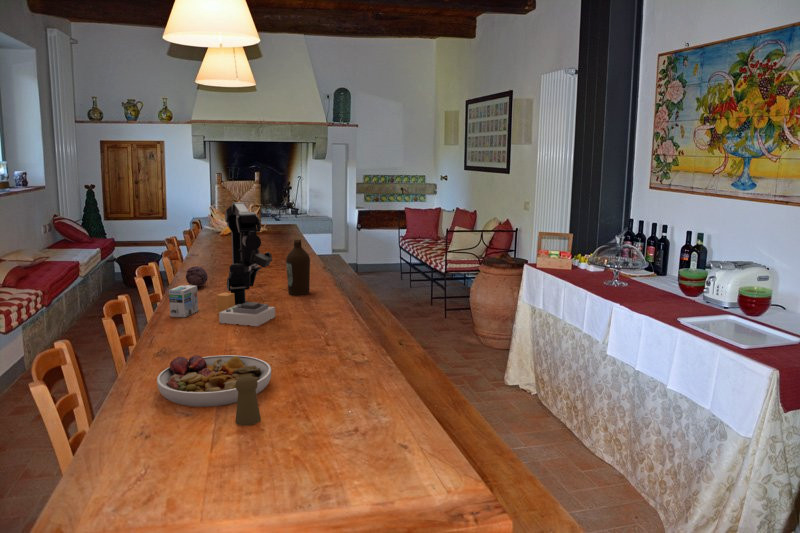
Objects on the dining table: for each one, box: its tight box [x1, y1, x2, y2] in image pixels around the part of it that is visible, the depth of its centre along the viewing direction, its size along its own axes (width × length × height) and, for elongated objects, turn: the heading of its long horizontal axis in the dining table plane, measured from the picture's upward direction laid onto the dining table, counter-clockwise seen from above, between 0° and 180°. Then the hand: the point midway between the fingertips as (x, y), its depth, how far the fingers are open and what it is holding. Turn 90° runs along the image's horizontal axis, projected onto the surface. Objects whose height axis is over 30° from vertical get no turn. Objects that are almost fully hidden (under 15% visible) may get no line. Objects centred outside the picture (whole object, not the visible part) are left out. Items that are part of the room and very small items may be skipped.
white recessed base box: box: [218, 303, 276, 327], centre depth 246 cm, size 14×16×6 cm
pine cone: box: [185, 265, 209, 287], centre depth 303 cm, size 18×10×10 cm, turn 21°
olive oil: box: [285, 238, 311, 297], centre depth 289 cm, size 11×11×25 cm
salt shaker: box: [234, 376, 262, 427], centre depth 155 cm, size 6×6×11 cm
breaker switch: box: [241, 301, 261, 310], centre depth 245 cm, size 5×5×3 cm
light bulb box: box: [168, 284, 199, 318], centre depth 255 cm, size 11×7×11 cm, turn 168°
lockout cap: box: [216, 292, 235, 316], centre depth 255 cm, size 5×5×8 cm
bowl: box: [156, 354, 272, 408], centre depth 176 cm, size 30×30×8 cm
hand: (249, 287), depth 244 cm, fingers open, 2 cm apart
